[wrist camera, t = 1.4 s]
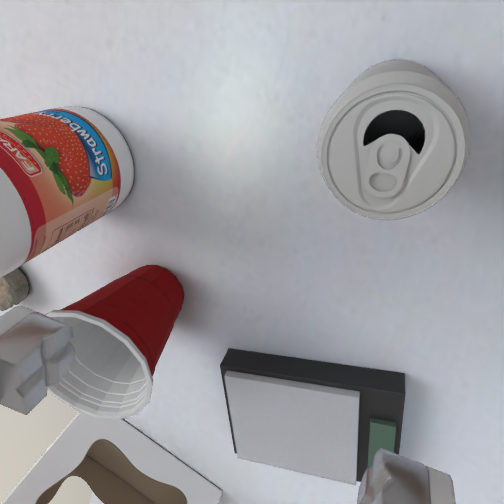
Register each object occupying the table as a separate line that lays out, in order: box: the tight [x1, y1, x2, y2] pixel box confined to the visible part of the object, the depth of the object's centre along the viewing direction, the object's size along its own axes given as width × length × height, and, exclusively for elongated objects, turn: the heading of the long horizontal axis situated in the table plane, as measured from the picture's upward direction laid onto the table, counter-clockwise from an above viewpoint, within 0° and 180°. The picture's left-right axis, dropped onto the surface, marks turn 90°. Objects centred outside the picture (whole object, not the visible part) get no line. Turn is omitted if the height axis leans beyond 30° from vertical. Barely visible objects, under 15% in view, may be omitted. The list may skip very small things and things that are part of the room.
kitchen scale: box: [220, 349, 405, 485], centre depth 40 cm, size 17×13×3 cm
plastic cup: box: [45, 265, 184, 420], centre depth 35 cm, size 11×11×12 cm
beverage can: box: [317, 59, 471, 220], centre depth 21 cm, size 6×6×12 cm
